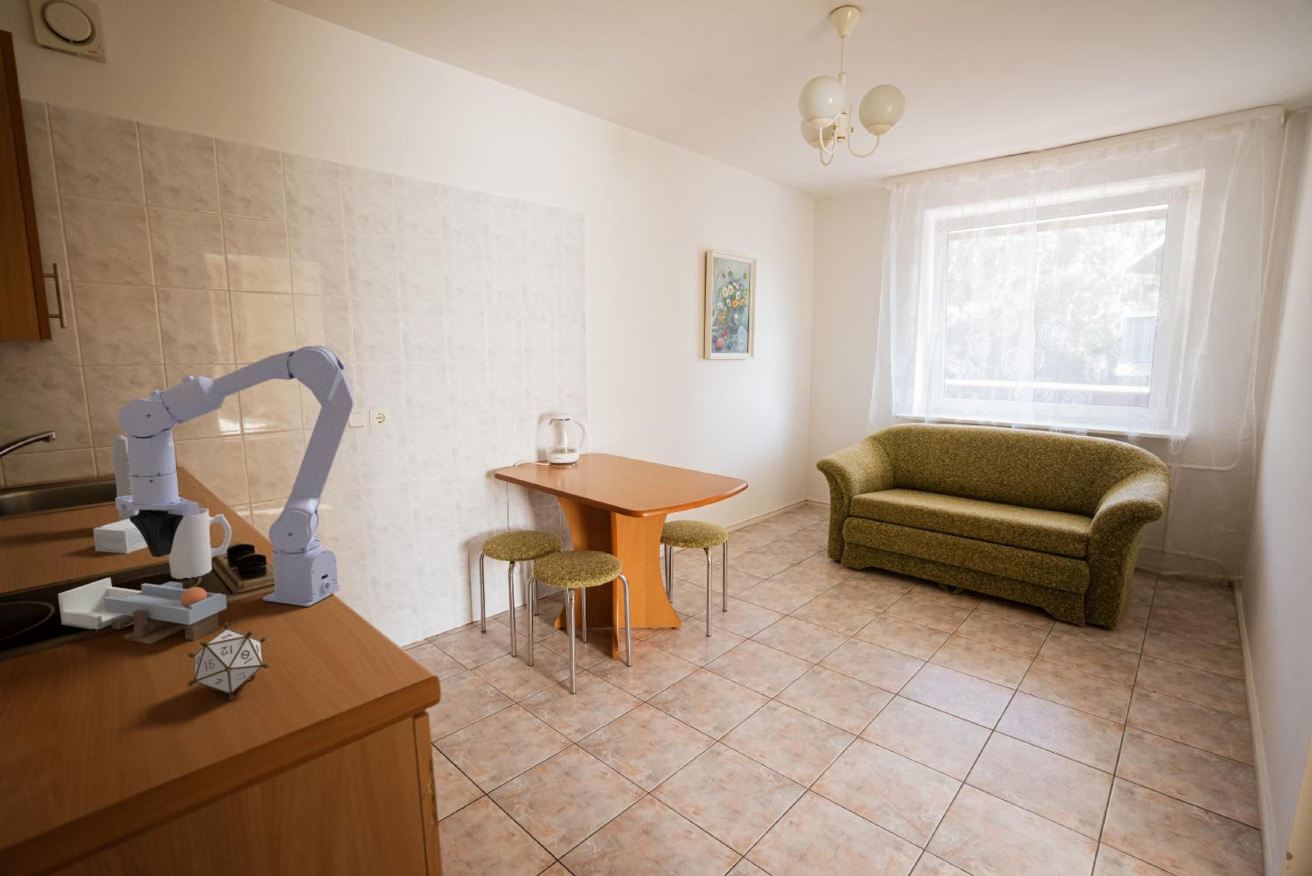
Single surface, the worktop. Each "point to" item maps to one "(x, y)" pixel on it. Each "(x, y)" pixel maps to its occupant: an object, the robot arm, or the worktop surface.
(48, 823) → the worktop surface
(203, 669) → the game die
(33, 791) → the worktop surface
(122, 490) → the tall pale column
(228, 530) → the mug
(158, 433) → the robot arm
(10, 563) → the worktop surface
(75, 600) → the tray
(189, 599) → the ball
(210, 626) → the fulcrum
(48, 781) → the worktop surface
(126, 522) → the small box
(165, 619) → the lever
